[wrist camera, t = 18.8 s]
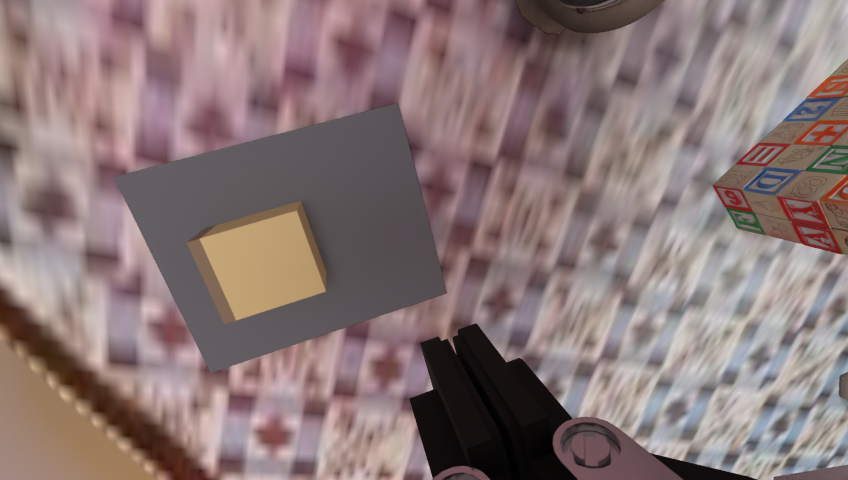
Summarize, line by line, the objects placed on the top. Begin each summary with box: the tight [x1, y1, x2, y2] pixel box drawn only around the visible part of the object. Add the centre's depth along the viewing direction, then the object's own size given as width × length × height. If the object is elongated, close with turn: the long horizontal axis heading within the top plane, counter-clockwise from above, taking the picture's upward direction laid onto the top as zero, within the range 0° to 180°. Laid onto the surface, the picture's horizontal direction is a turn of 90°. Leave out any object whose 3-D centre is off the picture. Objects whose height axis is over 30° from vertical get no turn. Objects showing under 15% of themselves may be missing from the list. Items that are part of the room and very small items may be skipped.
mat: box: [114, 103, 447, 372], centre depth 31 cm, size 20×16×1 cm
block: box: [186, 201, 327, 324], centre depth 28 cm, size 4×6×7 cm
